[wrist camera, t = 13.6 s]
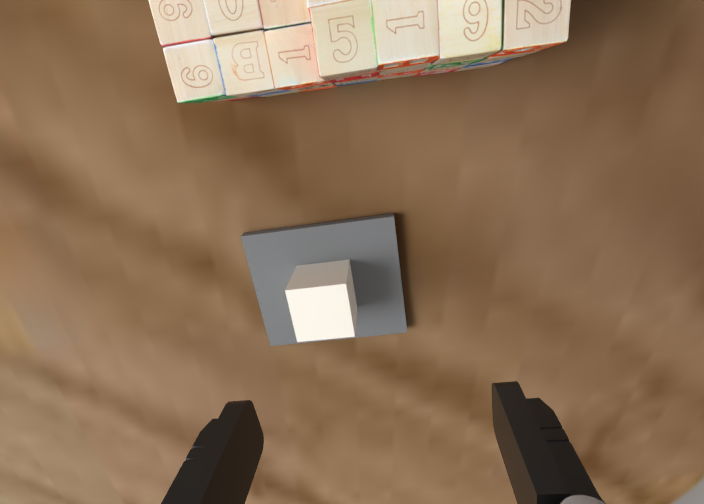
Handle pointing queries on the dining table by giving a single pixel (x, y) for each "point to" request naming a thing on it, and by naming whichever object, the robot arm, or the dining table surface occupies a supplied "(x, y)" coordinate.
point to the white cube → (322, 301)
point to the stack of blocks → (341, 41)
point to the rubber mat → (326, 246)
